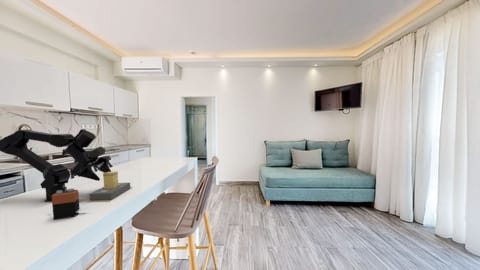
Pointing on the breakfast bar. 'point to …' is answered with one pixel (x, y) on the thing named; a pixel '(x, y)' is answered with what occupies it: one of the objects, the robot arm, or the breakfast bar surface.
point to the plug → (110, 180)
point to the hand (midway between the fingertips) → (105, 177)
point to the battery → (65, 203)
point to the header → (108, 193)
